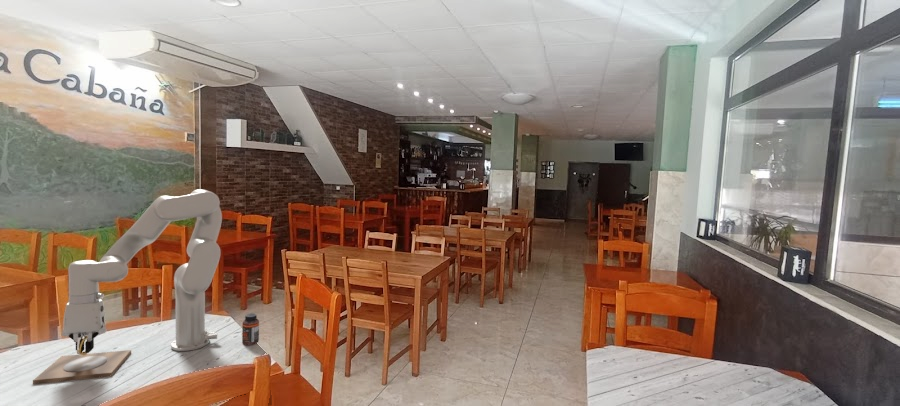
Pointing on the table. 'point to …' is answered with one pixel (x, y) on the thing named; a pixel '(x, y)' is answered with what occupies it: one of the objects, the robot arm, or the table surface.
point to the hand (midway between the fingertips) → (84, 351)
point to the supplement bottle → (250, 329)
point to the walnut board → (83, 366)
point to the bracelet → (79, 346)
